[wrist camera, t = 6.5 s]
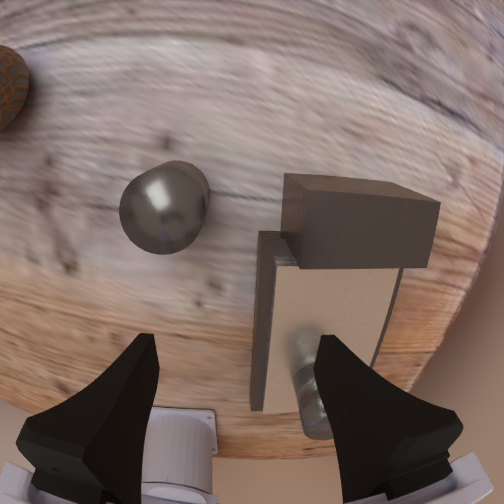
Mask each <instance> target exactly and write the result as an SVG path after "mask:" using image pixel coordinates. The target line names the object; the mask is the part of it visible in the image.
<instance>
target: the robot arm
mask: <svg viewBox="0 0 504 504" xmlns="http://www.w3.org/2000/svg"><path fill="white" fill-rule="evenodd" d="M159 369H160V367H159V362H158V356H157V351H156V345H155V339H154V334H148V333H140V334H139V335H138V336H137V337H136V338H135V339H134V340H133V341H132V343H131V344H130V345H129V346H128V347H127V348H126V349H125V350H124V352H123V353H122V354H121V355H120V356H119V357H118V358H117V359H116V360H115V361H114V362H113V363H112V364H111V365H110V366H109V367H108V368H107V369H106V370H105V371H104V372H103V373H102V374H101V375H100V376H99V377H98V378H97V379H95V380H94V381H93V382H92V383H91V384H89V385H88V386H87V387H85V388H84V389H83V390H81V391H80V392H78V393H77V394H75V395H74V396H72V397H71V398H69V399H67V400H66V401H64V402H62V403H60V404H59V405H57V406H55V407H53V408H51V409H48V410H46V411H44V412H41V413H39V414H36V415H34V416H31V417H28V418H27V419H26V421H25V423H24V425H23V427H22V429H21V431H20V434H19V436H18V438H17V440H16V445H17V447H18V449H19V451H20V452H21V453H22V454H23V456H24V457H25V458H26V459H27V460H28V461H29V462H30V463H31V464H32V465H33V466H34V467H35V468H36V469H35V472H34V474H33V473H32V472H30V471H28V470H27V469H24V468H22V467H20V466H18V465H15V464H14V463H11V462H9V461H6V463H5V465H4V468H3V471H2V473H1V476H0V504H217V496H216V495H212V455H216V454H218V446H217V435H216V424H215V413H214V411H212V410H197V409H176V408H162V407H152V405H153V402H154V398H155V394H156V390H157V385H158V377H159ZM313 370H314V376H315V381H316V385H317V389H318V392H319V395H320V398H321V401H322V404H323V406H324V409H325V412H326V415H327V418H328V420H329V423H330V426H331V430H332V433H333V438H334V442H335V447H336V452H337V458H338V463H339V470H340V477H341V485H342V496H343V504H475V503H477V502H478V501H479V500H481V499H482V498H484V497H485V496H486V495H487V494H489V493H490V492H492V491H493V487H492V485H491V483H490V481H489V479H488V477H487V475H486V473H485V472H484V470H483V468H482V466H481V464H480V463H479V461H478V459H477V457H476V455H475V454H474V452H473V451H471V452H469V453H468V454H465V455H463V456H461V457H459V458H457V459H455V460H454V461H452V462H451V463H450V464H449V462H448V460H447V458H449V457H450V454H449V452H448V448H449V447H450V446H451V445H452V444H453V443H454V441H455V440H456V439H457V438H458V437H459V436H460V434H461V433H462V430H463V424H462V423H461V421H460V419H459V418H458V416H457V415H456V413H455V411H452V410H449V409H446V408H442V407H439V406H436V405H433V404H431V403H428V402H426V401H423V400H421V399H419V398H416V397H415V396H413V395H411V394H409V393H407V392H405V391H403V390H401V389H400V388H398V387H396V386H395V385H393V384H392V383H390V382H389V381H387V380H386V379H384V378H383V377H382V376H380V375H379V374H378V373H376V372H375V371H374V370H373V369H371V368H370V367H369V366H368V365H367V364H365V363H364V362H363V361H362V360H361V359H360V358H359V357H358V356H356V355H355V354H354V353H353V352H352V351H351V350H350V349H349V348H348V347H347V346H346V345H345V344H344V343H343V342H342V341H341V340H340V339H339V338H338V337H336V336H335V335H334V334H333V335H321V338H320V342H319V347H318V351H317V355H316V359H315V363H314V367H313ZM145 435H146V436H145Z"/></svg>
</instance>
